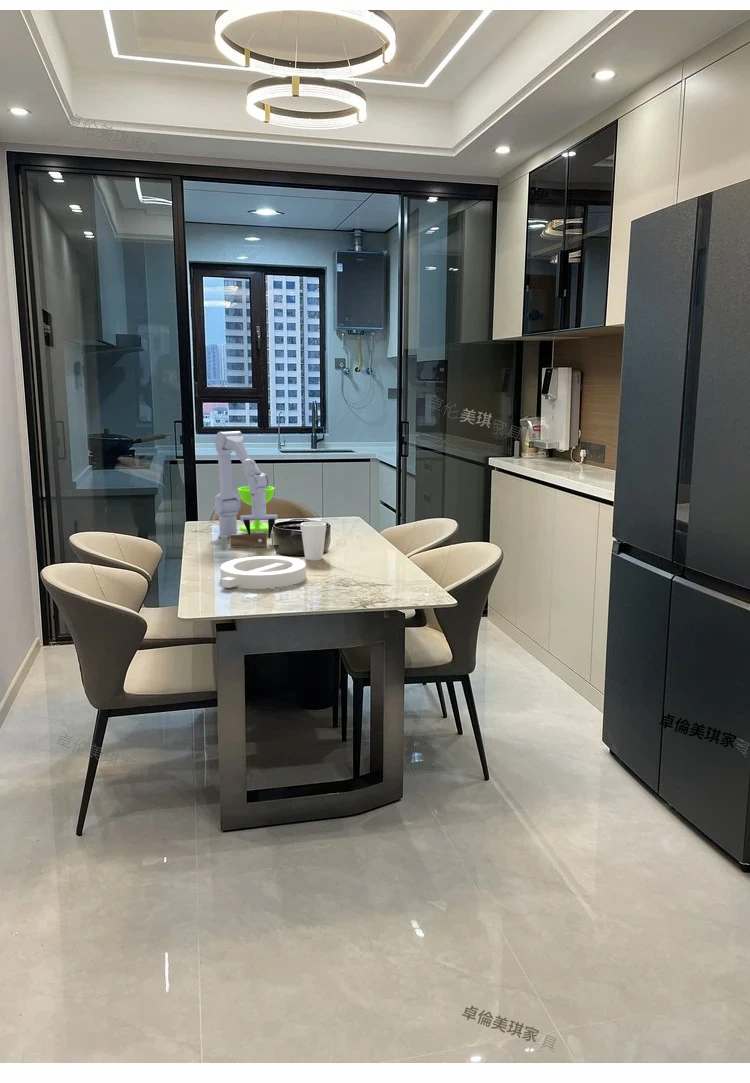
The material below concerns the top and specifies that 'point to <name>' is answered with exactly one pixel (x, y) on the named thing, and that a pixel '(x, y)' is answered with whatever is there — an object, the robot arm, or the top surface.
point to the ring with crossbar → (262, 572)
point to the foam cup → (313, 539)
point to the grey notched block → (259, 532)
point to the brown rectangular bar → (248, 540)
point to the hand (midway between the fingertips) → (259, 538)
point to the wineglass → (246, 497)
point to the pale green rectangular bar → (224, 541)
